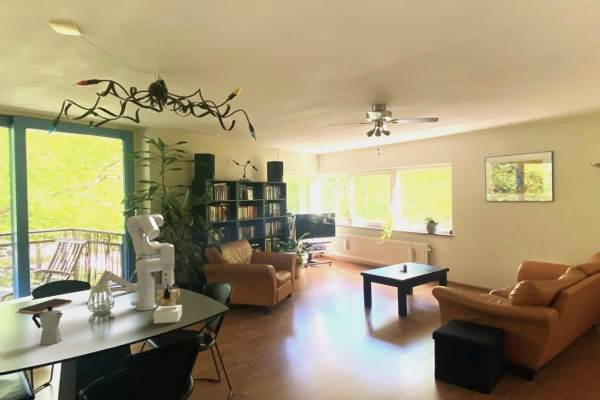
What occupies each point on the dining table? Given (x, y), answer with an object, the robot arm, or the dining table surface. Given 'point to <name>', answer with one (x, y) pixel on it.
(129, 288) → the wall bracket
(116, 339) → the dining table surface
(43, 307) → the hardcover book
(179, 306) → the white recessed tray
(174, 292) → the tan brown rectangular block
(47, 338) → the coffee maker
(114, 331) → the dining table surface
